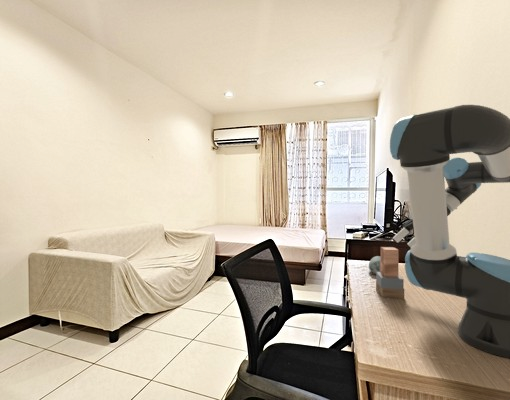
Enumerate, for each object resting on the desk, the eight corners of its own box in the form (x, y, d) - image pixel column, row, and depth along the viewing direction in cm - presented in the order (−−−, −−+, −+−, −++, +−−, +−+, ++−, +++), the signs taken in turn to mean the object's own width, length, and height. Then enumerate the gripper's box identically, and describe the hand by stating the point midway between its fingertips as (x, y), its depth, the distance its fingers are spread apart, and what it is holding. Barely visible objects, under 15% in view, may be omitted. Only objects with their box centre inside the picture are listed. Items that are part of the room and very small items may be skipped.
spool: (390, 272, 124) (380, 252, 128) (371, 278, 128) (362, 258, 132) (394, 272, 134) (385, 253, 139) (376, 277, 138) (368, 259, 143)
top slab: (403, 289, 100) (403, 279, 100) (381, 287, 102) (381, 277, 102) (397, 282, 108) (397, 273, 108) (376, 281, 109) (376, 271, 109)
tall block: (398, 277, 102) (398, 249, 102) (385, 277, 103) (385, 249, 102) (393, 273, 107) (393, 247, 107) (380, 273, 107) (380, 247, 107)
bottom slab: (404, 299, 100) (404, 289, 100) (382, 298, 101) (382, 288, 101) (396, 291, 108) (396, 282, 108) (375, 290, 109) (376, 281, 109)
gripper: (472, 215, 90) (425, 257, 92) (432, 211, 114) (396, 244, 117) (455, 200, 90) (409, 242, 92) (419, 199, 115) (383, 232, 117)
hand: (402, 243), depth 104 cm, fingers open, 13 cm apart
